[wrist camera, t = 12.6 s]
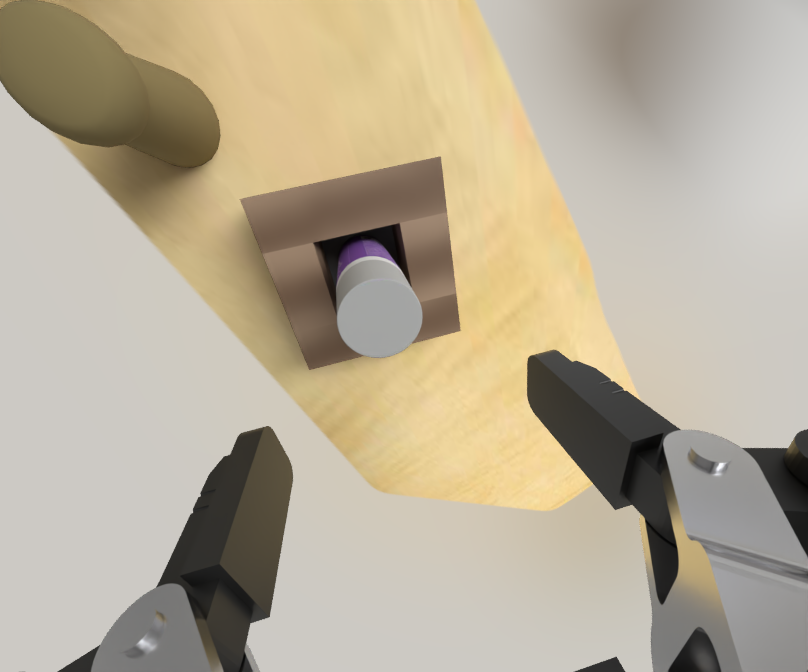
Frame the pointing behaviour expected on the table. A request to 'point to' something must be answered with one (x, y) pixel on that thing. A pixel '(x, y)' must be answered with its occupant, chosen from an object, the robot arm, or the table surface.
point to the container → (374, 300)
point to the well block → (342, 219)
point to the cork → (100, 87)
